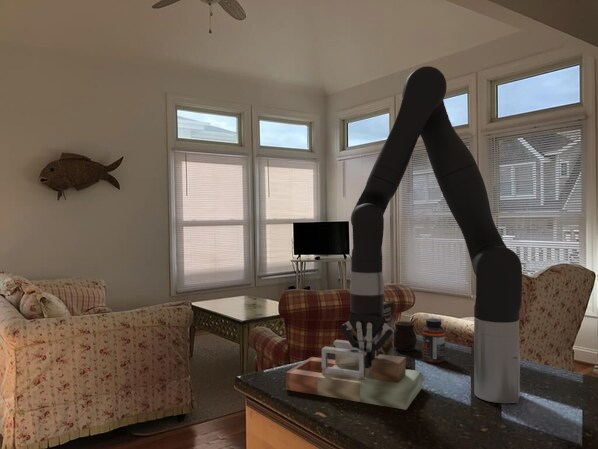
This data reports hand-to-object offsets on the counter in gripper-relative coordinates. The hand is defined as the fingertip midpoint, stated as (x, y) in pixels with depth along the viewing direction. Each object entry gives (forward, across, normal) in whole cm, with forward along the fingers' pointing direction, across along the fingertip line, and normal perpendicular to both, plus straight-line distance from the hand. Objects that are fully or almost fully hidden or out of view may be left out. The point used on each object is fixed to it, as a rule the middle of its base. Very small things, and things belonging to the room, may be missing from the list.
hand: (367, 367), depth 113 cm
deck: (+6, +3, 0) cm, 6 cm away
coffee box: (+6, +5, -24) cm, 25 cm away
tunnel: (+2, +4, 0) cm, 4 cm away
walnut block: (+2, -5, 0) cm, 5 cm away
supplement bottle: (+6, -9, -31) cm, 33 cm away
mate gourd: (+6, +1, -39) cm, 39 cm away
